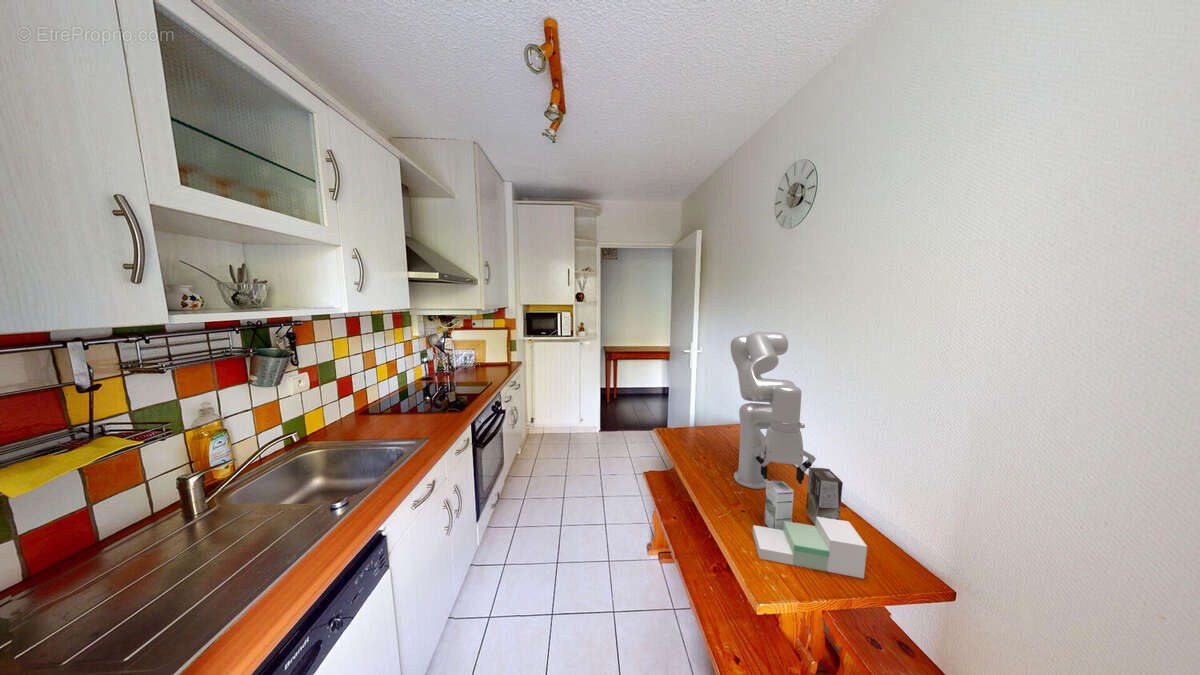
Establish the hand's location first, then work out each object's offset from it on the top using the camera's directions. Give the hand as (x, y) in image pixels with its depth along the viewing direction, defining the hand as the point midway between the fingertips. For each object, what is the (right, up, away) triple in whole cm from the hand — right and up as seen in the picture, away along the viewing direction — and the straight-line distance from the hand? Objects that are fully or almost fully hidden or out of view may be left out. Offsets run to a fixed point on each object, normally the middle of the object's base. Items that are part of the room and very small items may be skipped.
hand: (781, 479), depth 102 cm
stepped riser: (+2, -18, -8) cm, 20 cm away
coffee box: (+17, -16, +6) cm, 24 cm away
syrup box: (0, -17, +2) cm, 17 cm away
